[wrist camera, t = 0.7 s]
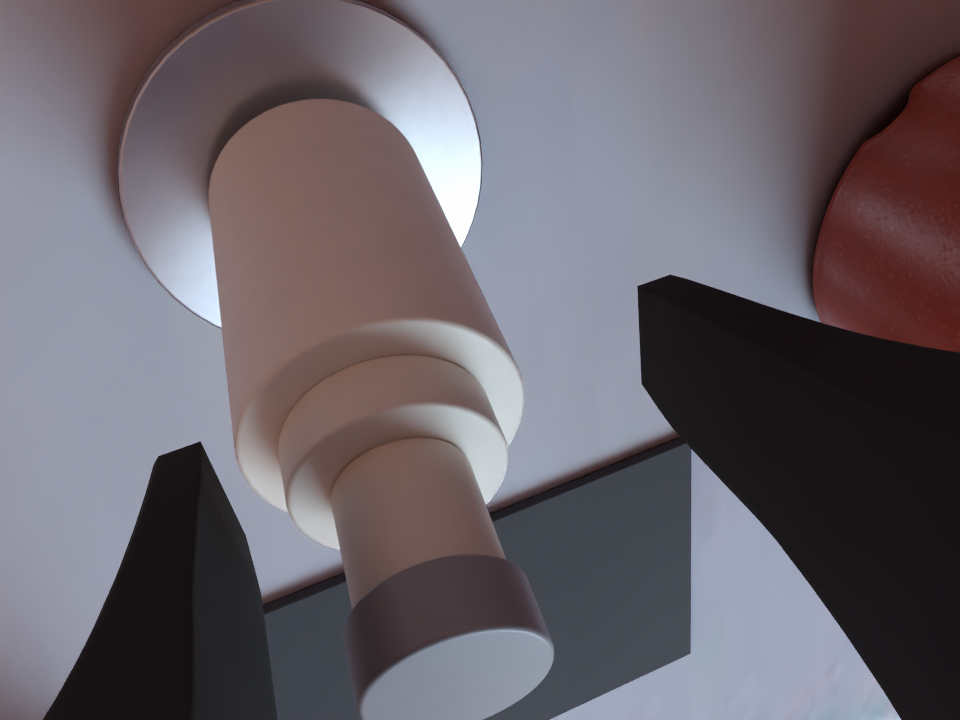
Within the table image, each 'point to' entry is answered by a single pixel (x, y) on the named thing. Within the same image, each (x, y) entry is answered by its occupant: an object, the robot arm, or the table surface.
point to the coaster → (263, 86)
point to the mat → (540, 592)
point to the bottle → (375, 403)
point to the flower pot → (899, 226)
